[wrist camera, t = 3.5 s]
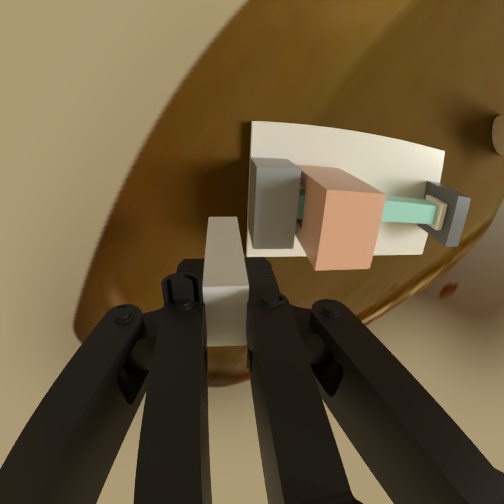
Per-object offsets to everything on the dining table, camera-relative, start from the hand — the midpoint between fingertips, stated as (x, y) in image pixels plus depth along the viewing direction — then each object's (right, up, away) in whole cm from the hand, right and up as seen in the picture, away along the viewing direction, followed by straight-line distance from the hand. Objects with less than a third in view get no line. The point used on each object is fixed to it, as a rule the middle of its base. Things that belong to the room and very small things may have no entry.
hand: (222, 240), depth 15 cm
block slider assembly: (+11, +5, +10) cm, 16 cm away
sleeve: (+7, +4, +8) cm, 11 cm away
